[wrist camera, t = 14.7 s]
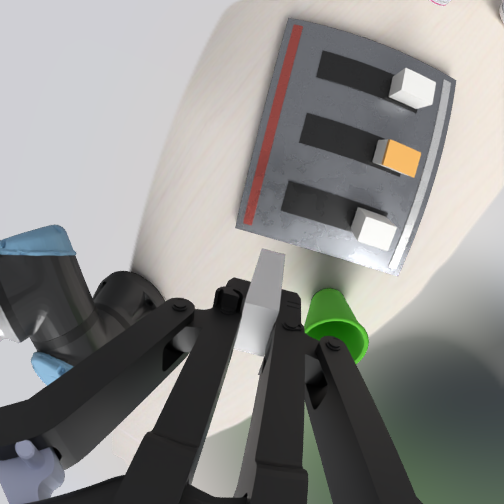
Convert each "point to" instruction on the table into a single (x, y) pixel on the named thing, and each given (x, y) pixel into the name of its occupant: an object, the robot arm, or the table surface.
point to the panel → (341, 146)
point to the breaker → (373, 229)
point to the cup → (336, 322)
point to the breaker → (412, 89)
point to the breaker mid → (397, 157)
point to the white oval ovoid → (502, 12)
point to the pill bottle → (440, 2)
